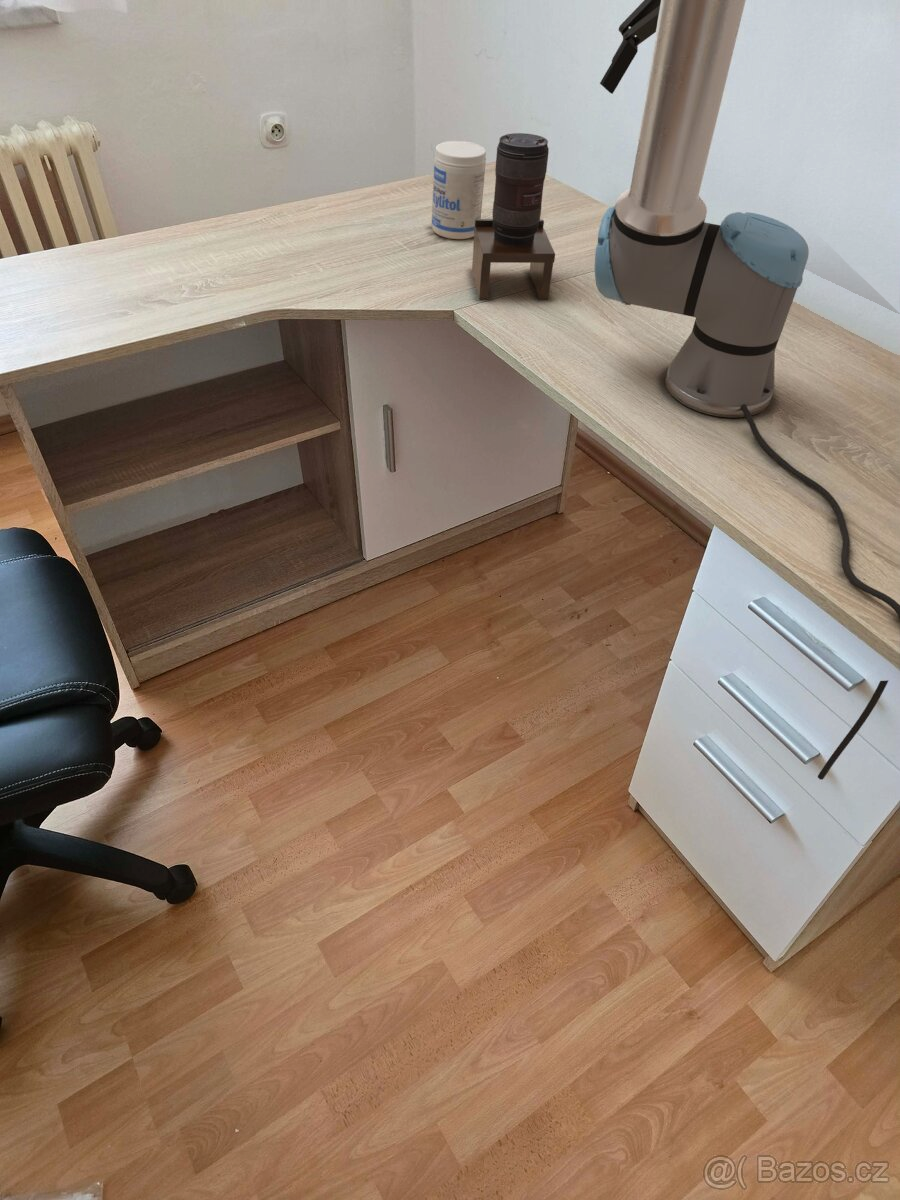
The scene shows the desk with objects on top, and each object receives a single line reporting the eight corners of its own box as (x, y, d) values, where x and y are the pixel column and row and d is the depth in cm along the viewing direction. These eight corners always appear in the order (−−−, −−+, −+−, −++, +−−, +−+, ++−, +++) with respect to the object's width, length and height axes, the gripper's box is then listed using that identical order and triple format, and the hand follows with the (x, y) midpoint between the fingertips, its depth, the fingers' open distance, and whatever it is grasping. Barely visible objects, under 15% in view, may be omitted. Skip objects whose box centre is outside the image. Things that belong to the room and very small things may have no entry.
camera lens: (538, 231, 135) (550, 133, 124) (537, 250, 129) (549, 149, 118) (491, 227, 135) (499, 129, 124) (488, 245, 129) (496, 145, 119)
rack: (548, 301, 134) (556, 247, 128) (479, 301, 133) (483, 247, 126) (536, 270, 142) (543, 219, 136) (471, 270, 141) (474, 218, 135)
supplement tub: (424, 235, 151) (425, 151, 141) (441, 218, 158) (444, 137, 147) (471, 244, 149) (476, 160, 139) (487, 227, 156) (493, 145, 145)
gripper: (799, -17, 105) (696, 140, 115) (682, -51, 120) (599, 91, 129) (775, -54, 100) (669, 114, 110) (655, -85, 115) (571, 65, 124)
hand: (631, 102), depth 120 cm, fingers open, 13 cm apart
